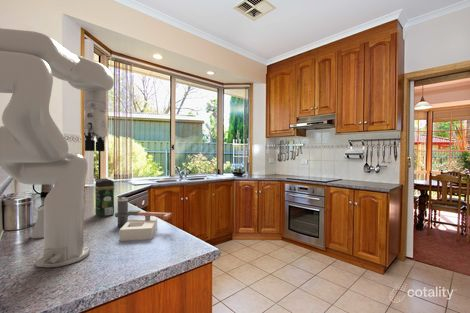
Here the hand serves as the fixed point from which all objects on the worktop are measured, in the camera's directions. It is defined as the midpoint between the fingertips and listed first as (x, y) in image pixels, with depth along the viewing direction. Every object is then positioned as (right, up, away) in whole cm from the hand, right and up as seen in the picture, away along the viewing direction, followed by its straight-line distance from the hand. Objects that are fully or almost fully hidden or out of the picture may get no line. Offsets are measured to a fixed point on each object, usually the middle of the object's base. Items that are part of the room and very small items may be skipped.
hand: (95, 151), depth 89 cm
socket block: (+18, -33, 0) cm, 37 cm away
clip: (+20, -27, +3) cm, 33 cm away
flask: (-18, -32, -3) cm, 37 cm away
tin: (-27, -32, +13) cm, 44 cm away
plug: (+6, -32, +10) cm, 34 cm away
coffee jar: (-12, -32, +27) cm, 43 cm away
